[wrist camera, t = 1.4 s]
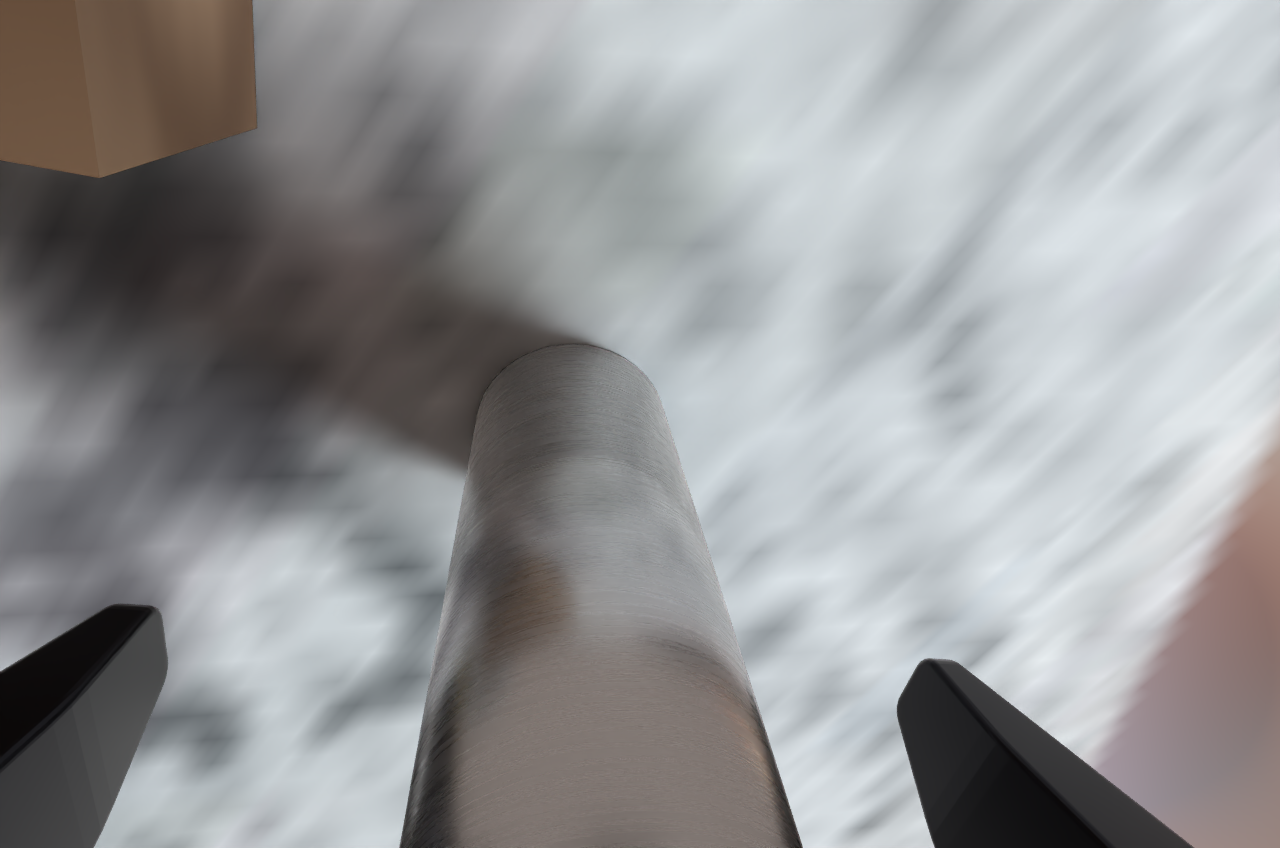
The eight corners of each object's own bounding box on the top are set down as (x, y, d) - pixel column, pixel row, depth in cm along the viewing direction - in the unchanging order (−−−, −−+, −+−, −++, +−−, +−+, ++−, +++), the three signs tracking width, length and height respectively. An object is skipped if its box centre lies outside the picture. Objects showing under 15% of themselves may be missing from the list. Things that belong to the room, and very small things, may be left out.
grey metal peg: (642, 516, 14) (801, 1293, 5) (467, 497, 13) (319, 1361, 5) (684, 360, 12) (1007, 1110, 4) (487, 329, 12) (321, 1168, 3)
